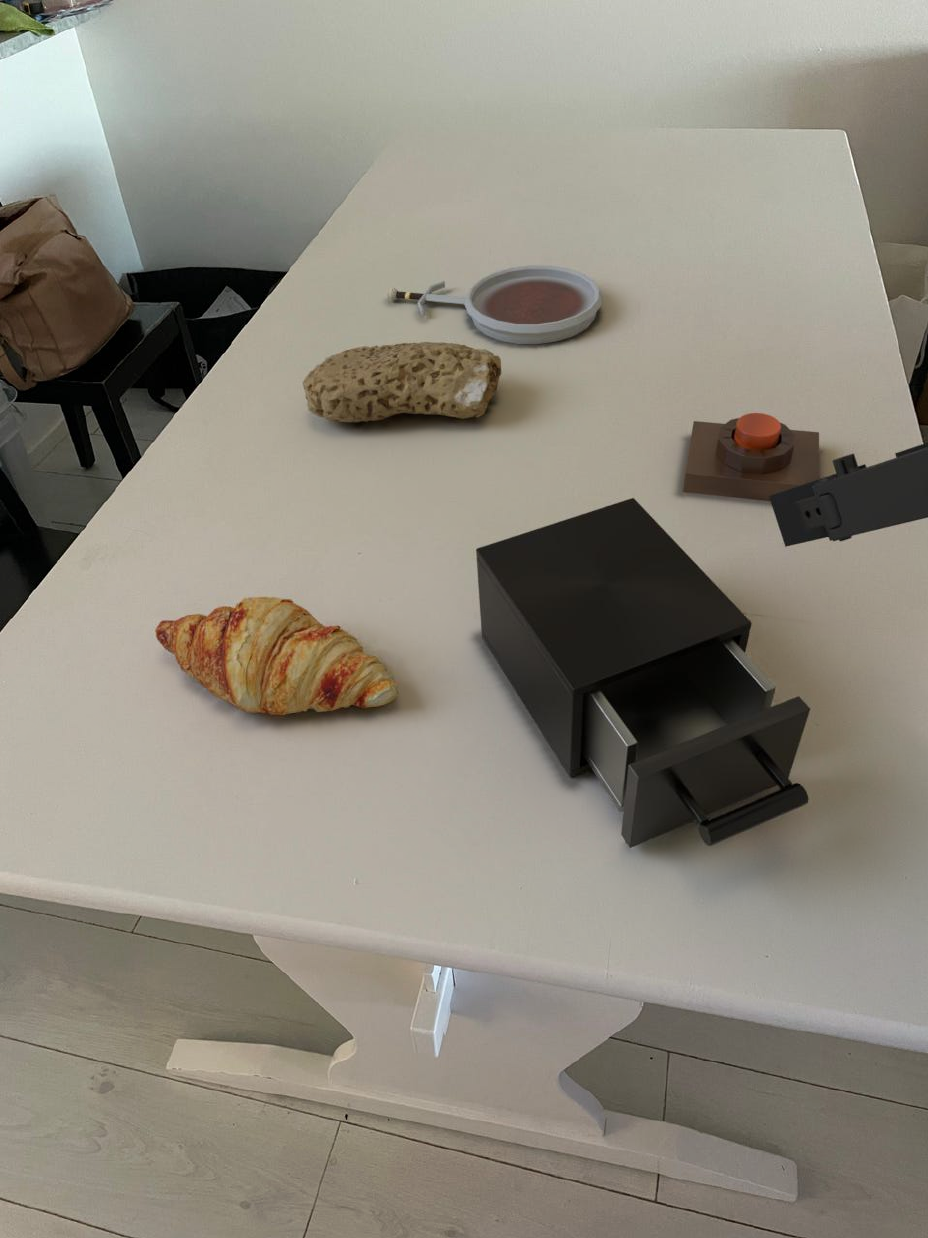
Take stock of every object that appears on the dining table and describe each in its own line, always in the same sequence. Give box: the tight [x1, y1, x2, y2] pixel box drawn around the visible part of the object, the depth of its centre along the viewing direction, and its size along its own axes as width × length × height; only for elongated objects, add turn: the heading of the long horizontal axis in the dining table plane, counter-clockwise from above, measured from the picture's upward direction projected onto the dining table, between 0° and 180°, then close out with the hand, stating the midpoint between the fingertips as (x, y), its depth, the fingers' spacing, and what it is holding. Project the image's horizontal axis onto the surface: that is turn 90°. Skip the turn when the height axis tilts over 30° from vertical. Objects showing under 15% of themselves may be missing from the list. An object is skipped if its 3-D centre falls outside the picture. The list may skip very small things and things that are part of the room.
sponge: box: [302, 341, 502, 423], centre depth 99 cm, size 13×8×20 cm
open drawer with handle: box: [581, 638, 811, 849], centre depth 63 cm, size 19×12×8 cm, turn 23°
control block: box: [682, 417, 820, 502], centre depth 89 cm, size 12×9×4 cm
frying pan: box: [386, 264, 603, 345], centre depth 116 cm, size 17×3×28 cm
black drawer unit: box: [475, 497, 752, 778], centre depth 69 cm, size 16×14×10 cm
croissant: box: [154, 596, 399, 716], centre depth 73 cm, size 21×10×8 cm, turn 72°
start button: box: [734, 412, 781, 451], centre depth 87 cm, size 4×4×2 cm
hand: (847, 496), depth 48 cm, fingers open, 7 cm apart
